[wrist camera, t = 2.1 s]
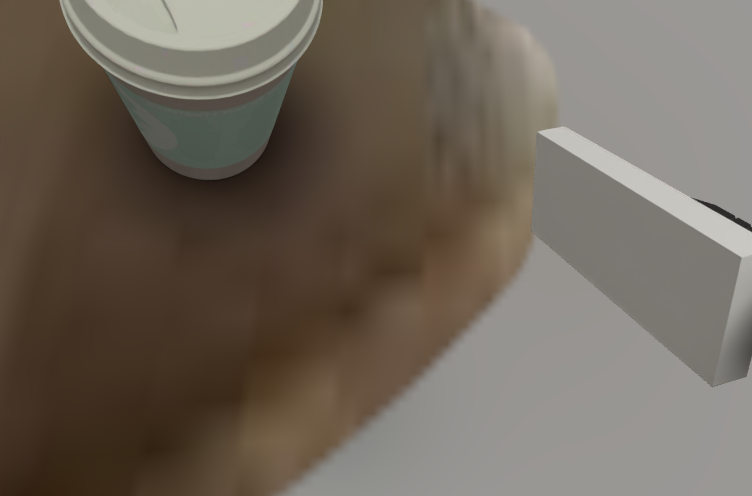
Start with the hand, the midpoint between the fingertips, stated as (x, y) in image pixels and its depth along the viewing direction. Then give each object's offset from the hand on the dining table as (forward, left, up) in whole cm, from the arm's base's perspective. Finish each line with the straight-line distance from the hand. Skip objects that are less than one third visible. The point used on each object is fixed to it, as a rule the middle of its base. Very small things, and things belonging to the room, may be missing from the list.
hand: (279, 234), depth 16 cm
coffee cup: (-8, +8, -16) cm, 19 cm away
